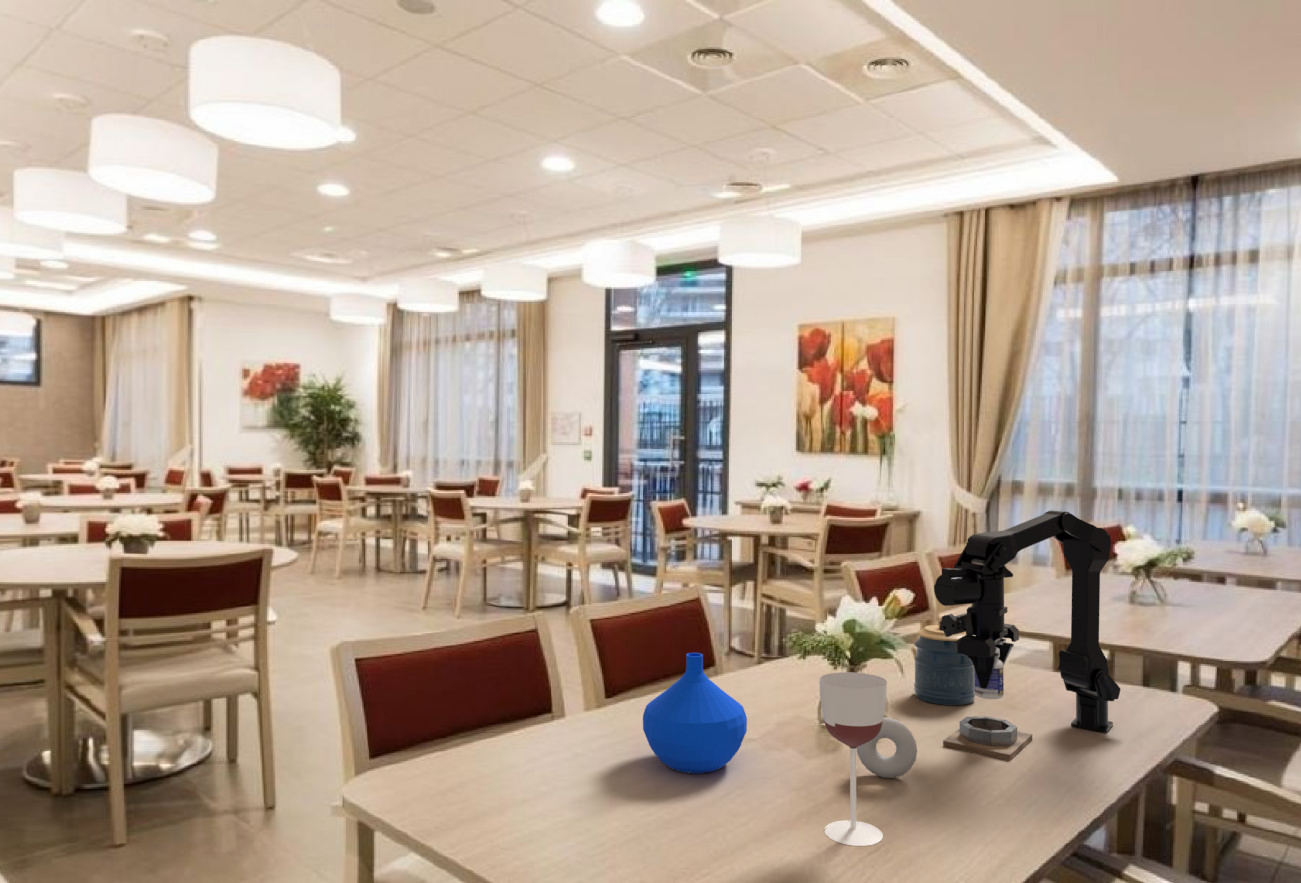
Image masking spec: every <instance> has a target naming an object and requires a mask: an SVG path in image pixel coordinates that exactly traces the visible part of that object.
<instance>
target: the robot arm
mask: <svg viewBox="0 0 1301 883" xmlns="http://www.w3.org/2000/svg"><path fill="white" fill-rule="evenodd" d="M1051 538H1054V539H1055V540H1056V541H1058V542H1059V543H1061V544H1062V548H1063V556H1064V558H1065V560H1066V562H1067V564H1068V565H1069V567H1070V569H1071V574H1072V575H1071V621H1070V622H1071V623H1070V625H1071V627H1070V642H1069V644H1068V646H1067V647H1066V649H1065V650H1063V649H1060V650H1059V652H1058V658H1059V662H1058V668H1057V670H1058V671H1060V677H1061V679H1062V680H1063V683H1064V687H1065V690H1066V691H1067V692H1072V693H1075V718H1074V719H1073V720H1072V721H1071V722H1070V726H1071V727H1075V728H1081V729H1087V730H1091V731H1092V730H1093V731H1096V732H1103V733H1107V732H1109V730H1110V729H1111V728H1112V726H1114V722H1113V721H1110V720H1109V702H1115V700H1118V699H1119V697H1120V693H1121V687H1120V686H1119V684H1117V682H1116V681H1115V680H1114V679H1113V678H1112V677H1111V675H1110V674H1109V673H1110V672H1109V664H1108V659H1107V657H1106V656H1105V654H1104V652H1103V650H1102V648H1101V645H1100V600H1101V598H1100V596H1101V595H1100V594H1101V592H1100V591H1101V589H1100V588H1101V572H1102V571H1103V569H1104V567H1105V565H1107V563H1108V561H1109V559H1110V554H1111V547H1112V546H1111V545H1112V539H1111V538H1112V537H1111V536H1110V534H1109V533H1108V532H1107V531H1106V529H1104V528H1102V527H1097V526H1095V525H1093V524H1091V523H1089V522H1087V521H1084V520H1083V519H1080V518H1078V517H1077V516H1075V515H1074V514H1072V513H1070V512H1069V511H1066V510H1065V511H1064V510H1048V511H1046V512H1044V513H1043V514H1041V515H1039V516H1036V517H1034V518H1031V519H1029V520H1026V521H1024V522H1022V523H1019V524H1017V525H1015V526H1012V527H1009V528H1006V529H1004V530H998V531H997V530H996V531H985V532H980V533H973V534H972V535H970V536H969V537H968V538H967V542H966V545H965V546H964V548H963V550H962V551H961V553H960V555H959V557H958V559H957V560H956V561H955V564H954V565H953V568H949V567H942V569H941V574H940V575H939V576H938V577H937V578H936V580H935V584H934V585H933V592H934V595H935V598H936V600H937V602H939V603H940V605H942V606H944V607H949V606H955V605H956V606H958V605H961V606H962V605H968V604H971V606H968V608H966V613H961V614H957V615H954V614H953V613H949V614H944V615H942V616H941V618H940V619H941V621H940V627H939V629H940V630H942V631H943V632H944V634H945V637H949V636H952V635H953V634H958V633H962V632H966V635H965V636H963V637H961V638H960V639H958V640H957V641H956V642H955V652H956V653H959V654H964V655H966V656H967V657H969V658H970V659H971V660H972V663H973V665H974V668H975V671H976V675H977V678H978V681H979V684H980V687H981V688H985V689H986V688H987V686H988V684H989V681H990V678H991V676H992V673H993V670H994V667H995V664H996V661H997V659H999V660H1001V661H1002V663H1003V667H1004V666H1005V664H1006V661H1007V659H1008V657H1009V656H1010V653H1011V651H1012V649H1013V648H1014V646H1015V645H1014V644H1015V642H1017V641H1019V640H1020V630H1019V628H1017V626H1016V625H1015V624H1011V623H1005V614H1007V613H1008V606H1005V579H1006V578H1013V577H1014V573H1013V572H1012V571H1011V570H1009V569H1008V568H1007V567H1006V565H1007V564H1009V563H1010V562H1012V561H1013V560H1015V558H1016V557H1017V555H1018V553H1019V552H1020V551H1022V550H1025V549H1027V548H1029V547H1032V546H1033V545H1036V544H1039V543H1040V542H1044V541H1046V540H1048V539H1051ZM1007 639H1010V640H1011V643H1010V642H1007ZM996 648H999V650H1000V657H999V658H998V656H999V654H998V653H995V651H996Z"/></svg>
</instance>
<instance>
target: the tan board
mask: <svg viewBox="0 0 1301 883" xmlns="http://www.w3.org/2000/svg"><path fill="white" fill-rule="evenodd" d="M1031 741H1033V734H1031V733H1027V732H1022V731H1019V730H1017V741H1016V742H1015V743H1013V744H1012V745H1011V746H986V745H982V744H977V743H972V742H969V741H967V740H966V739H964V738H963V737H962V736H960V728H958V729H957V730H955V731H954V732H952V734H950V735H949V736H947V737H946V738H944V740H942V746H943V747H946V748H947V747H948V748H949V749H950V748H952V749H956V750H959V751H964V752H969V753H974V754H978V755H983V756H989V757H993V758H998V759H1002V760H1006V761H1011V760H1013V759H1014V757H1015V756H1017V755H1018V754H1019V753H1020V752H1022V750H1023V749H1024V748H1025V747H1026V746H1027V745H1029V743H1031Z"/></svg>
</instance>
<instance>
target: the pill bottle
mask: <svg viewBox="0 0 1301 883" xmlns="http://www.w3.org/2000/svg"><path fill="white" fill-rule="evenodd" d="M995 653H998V654H999V656H998V658H999V657H1000V650H999V648H996V651H995ZM1004 677H1005V676H1004V666H1003V663H1002V661H1001V660H999V659H997V661H996V664H995V667H994V670H993V673H992V676H991V678H990V681H989V684H988V686H987V688H986V689H985V688H981V687H980V684H979V681H978V678H977V675H976V671H975V668H974V694H975V697H978V698H981V699H985V700H986V699H987V700H999V699H1002V698H1003V697H1004V696H1005V695H1004V694H1005V693H1004V692H1005V690H1004V687H1005V686H1004V684H1005V683H1004V681H1005V680H1004Z"/></svg>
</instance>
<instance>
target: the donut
mask: <svg viewBox="0 0 1301 883" xmlns="http://www.w3.org/2000/svg"><path fill="white" fill-rule="evenodd" d="M882 739H889V740H891V741H892V742H893V743H894V745H895V748H896V749H895V753H894V754H893V755H891V756H885V755H884V756H883V755H882V754H880V752H879V751H878V749H877V744H878V743H879V742H878V741H880V740H882ZM917 754H918V748H917V742H916V739H915V737H914V735H913V732H912V731H911V730H910V729H909V728H908V727H907V726H906V725H905V724H904V723H902V722H900V721H899V720H897V719H895V718H890V717H886V716H884V717H883V723H882V727H881V730H880V732H879V734H878V735H877V736H876V737H875V738H874V739H872V740H871V741H869V742H867V743H865V744H862V745H860V746H858V747H857V748H856V755H857V756H858V758H859V760H860V762H861V764H862V765H863V766H864V768H866V769H867V770H868V771H869V772H871V773H872V774H874V775H875V776H878V777H881V778H885V779H889V778H890V779H891V778H893V779H894V778H895V779H896V778H898V777H901V776H904V775H905V774H906V773H908V771H910V770H911V769H912V767H913V765H914V764H915V762H916V759H917Z"/></svg>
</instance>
